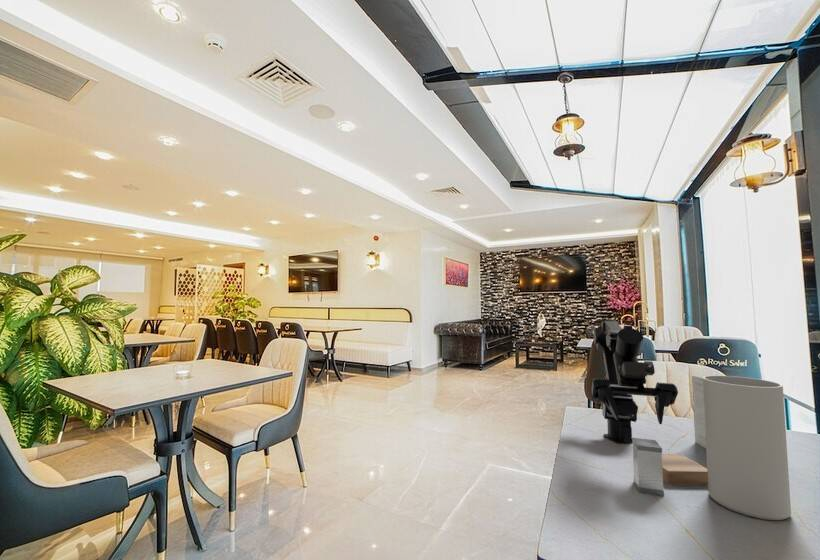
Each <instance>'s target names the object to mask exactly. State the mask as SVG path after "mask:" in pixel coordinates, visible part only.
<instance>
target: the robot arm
mask: <svg viewBox="0 0 820 560" xmlns="http://www.w3.org/2000/svg"><path fill="white" fill-rule="evenodd" d="M643 340H644V335H643V333H642V332H640V331H639V330H637V329H635V328H633V326H632V325H623V327H622V326H621V325H620V322H619V321H617V320H603V321H601V323H600V325H599V326H597V327H596V328H594V333H593V344H594V345H596V350H597V351H598V352H599V353H600V355H602V356H603V357H602V358H603V363H604V369H605V375H606V378H595V377H594V378H593V379H592V380H591V381H592V383H591V397H592V398H593V399H595V400H597V401H598V402H602V407H601V410H602V411H601V413H602V417H603V418H604V420H607V433H604V434H603V437H605V438H606V439H609V440H611V441H613V442H615V443H616V444H623V443H624V444H625V443H633V442H632V438H633V430H632V422H634V423H636V422H637V421H638V412H639V411H638V410H639V406H638V405H637V403H636V401H635V400H634V398H633V396H642V397H643V396H644V397H653V398H654V402H655V403H654V408H655V412H656V413H655V414H656V417H657V421H658V424H659V425H662V424H663V420H664V419H663V418H664V412H665V408H667V407H669V406H670V405H674V404H675V402H676V399H677V396H678V394H679V390H678V387H677V386H676V385H675V384H674V383H671V382H657V381H656V384H655V387H646V386H645V385H647V384H646V383H647V380H646V377H647V376H654V374H655V372H656V371H655V365H654V362H653V361H650V360H649V361H647V360H645V361H642V362H639V361H638V356H640V352H641V349H642V346H643Z"/></svg>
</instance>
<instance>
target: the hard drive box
mask: <svg viewBox="0 0 820 560" xmlns="http://www.w3.org/2000/svg"><path fill="white" fill-rule="evenodd" d="M704 376H705V375H704ZM704 376H702V375H692V376H691V382H692V383H691V385H692V403H693V422H694V423H693V424H694V440H695V443H696V444H698V445H699V446H701V447H702V448H705V449H706V431H705V411H704V391H703V377H704Z"/></svg>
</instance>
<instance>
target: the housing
mask: <svg viewBox="0 0 820 560" xmlns="http://www.w3.org/2000/svg"><path fill="white" fill-rule="evenodd" d="M631 443H632V458H633V460H632V461H633V463H632V464H633V484H634V485H635V487H636V489H637V491H638V493H640V494H647V495H653V496H659V497H664V496H665V491H664V481H663V469H662V454H663V448H662V446H661V445H660V444H659V442H657V441H656V439H646V438H641V437H640V438H639V437H632V442H631Z"/></svg>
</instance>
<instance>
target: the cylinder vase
mask: <svg viewBox="0 0 820 560" xmlns="http://www.w3.org/2000/svg"><path fill="white" fill-rule="evenodd" d="M703 391H704V411H705V431H706V448H705V449H706V451H705V452H706V464H707V465H706V468H707V471H708V485H707V486H708V487H707V488H708V493H709V496H710V497H711V499H712V500H713V501H715V502H716V503H717V504H719V505H720V506H722V507H724V508H726V509H728V510H730V511H733V512H736V513H738V514H741V515H744V516H747V517H750V518H755V519H760V520H764V521H765V520H767V521H782V520H786V519H788V518H790V516H791V514H792V506H791V492H790V476H789V475H790V474H789V461H788V446H787V445H788V444H787V431H786V415H785V414H786V413H785V398H784V385H783V384H781V383H779V382H775V381H772V380H771V381H770V380H766V379H760V378H755V377H754V378H753V377H744V376H734V375H704V377H703Z"/></svg>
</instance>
